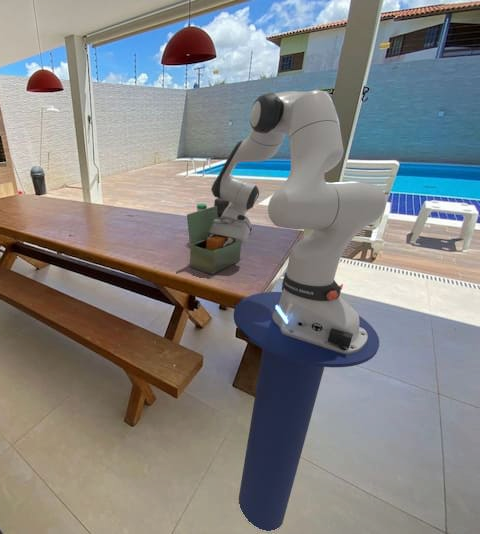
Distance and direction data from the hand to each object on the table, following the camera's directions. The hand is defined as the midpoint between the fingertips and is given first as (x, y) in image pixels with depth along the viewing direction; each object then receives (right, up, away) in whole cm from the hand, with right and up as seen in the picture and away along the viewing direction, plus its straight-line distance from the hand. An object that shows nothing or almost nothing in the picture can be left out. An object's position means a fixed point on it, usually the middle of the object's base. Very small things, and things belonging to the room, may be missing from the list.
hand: (216, 246), depth 130 cm
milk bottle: (0, +4, +29) cm, 30 cm away
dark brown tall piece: (+12, +3, +26) cm, 29 cm away
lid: (-5, +9, +2) cm, 10 cm away
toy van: (+1, -4, +2) cm, 5 cm away
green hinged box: (0, -8, +3) cm, 8 cm away
